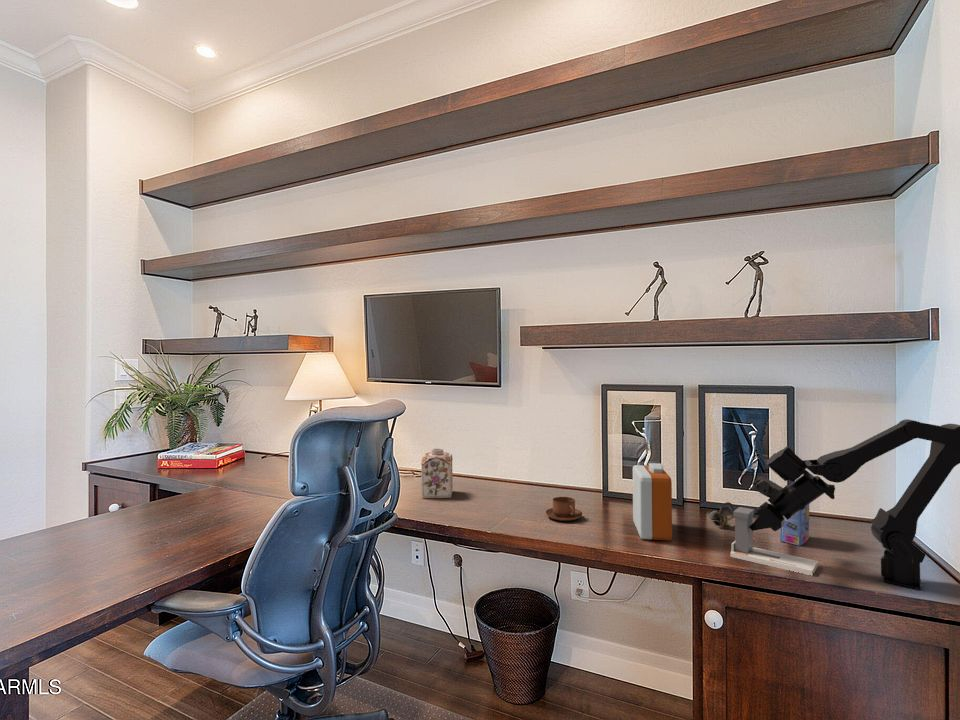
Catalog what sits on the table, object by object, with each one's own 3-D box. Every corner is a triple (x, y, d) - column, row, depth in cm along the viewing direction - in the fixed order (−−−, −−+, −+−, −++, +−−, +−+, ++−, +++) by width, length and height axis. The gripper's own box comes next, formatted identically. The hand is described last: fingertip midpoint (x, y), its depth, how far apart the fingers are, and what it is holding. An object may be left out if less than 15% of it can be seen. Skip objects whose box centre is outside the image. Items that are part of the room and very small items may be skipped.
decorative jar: (453, 491, 201) (452, 446, 201) (451, 498, 189) (451, 451, 189) (423, 491, 201) (423, 446, 201) (420, 498, 189) (420, 451, 189)
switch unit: (817, 565, 123) (817, 553, 124) (812, 575, 118) (811, 562, 118) (739, 548, 136) (739, 536, 136) (730, 556, 130) (730, 544, 130)
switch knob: (754, 547, 132) (754, 509, 132) (748, 553, 128) (748, 514, 128) (739, 544, 134) (739, 506, 135) (733, 550, 130) (733, 511, 131)
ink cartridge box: (802, 547, 137) (801, 494, 137) (779, 542, 141) (778, 491, 141) (810, 538, 144) (809, 488, 144) (788, 533, 148) (788, 485, 148)
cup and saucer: (589, 518, 163) (589, 500, 163) (565, 526, 156) (565, 506, 156) (562, 510, 173) (562, 493, 173) (538, 517, 165) (538, 498, 165)
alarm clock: (672, 542, 141) (672, 470, 141) (640, 540, 142) (640, 469, 142) (661, 522, 159) (660, 458, 159) (632, 521, 160) (632, 457, 161)
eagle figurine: (743, 527, 150) (739, 513, 158) (727, 506, 150) (725, 493, 159) (718, 538, 153) (716, 523, 162) (703, 517, 154) (702, 504, 162)
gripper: (781, 462, 134) (737, 496, 141) (764, 473, 120) (716, 510, 127) (816, 497, 128) (769, 530, 135) (803, 512, 114) (750, 548, 122)
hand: (751, 528), depth 130 cm, fingers closed, pressing on switch knob
